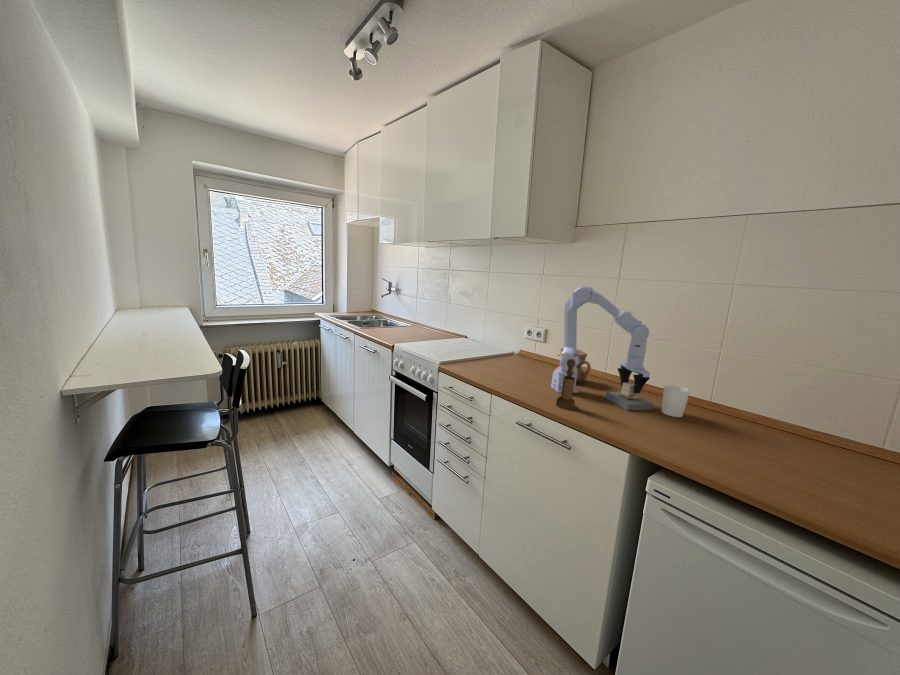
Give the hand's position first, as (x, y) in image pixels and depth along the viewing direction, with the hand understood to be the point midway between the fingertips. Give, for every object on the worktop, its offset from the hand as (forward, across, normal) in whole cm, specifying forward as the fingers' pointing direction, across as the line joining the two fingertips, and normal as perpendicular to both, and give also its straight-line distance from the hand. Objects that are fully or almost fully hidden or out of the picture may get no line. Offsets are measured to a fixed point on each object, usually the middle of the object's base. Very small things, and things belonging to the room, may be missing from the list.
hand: (630, 389), depth 140 cm
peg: (+6, 0, 0) cm, 6 cm away
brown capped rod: (+6, -2, +28) cm, 29 cm away
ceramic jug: (+6, +30, +8) cm, 32 cm away
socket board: (+6, 0, 0) cm, 6 cm away
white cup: (+6, -10, -11) cm, 16 cm away
